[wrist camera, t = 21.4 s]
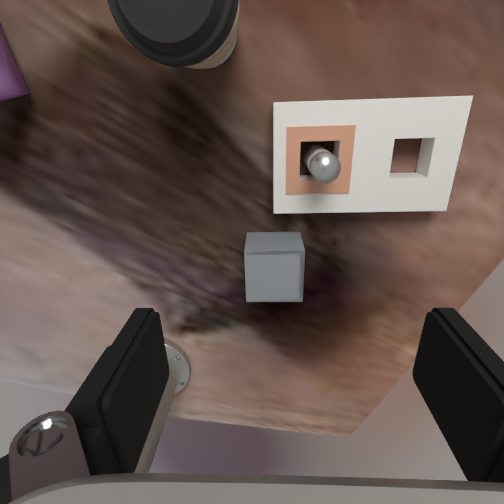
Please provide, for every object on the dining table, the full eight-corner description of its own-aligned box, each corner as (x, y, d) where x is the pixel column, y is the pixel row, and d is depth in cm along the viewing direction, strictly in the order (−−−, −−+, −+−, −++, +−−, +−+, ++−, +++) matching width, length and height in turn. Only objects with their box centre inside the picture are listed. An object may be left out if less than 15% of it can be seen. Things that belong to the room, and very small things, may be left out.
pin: (325, 168, 38) (339, 183, 31) (302, 169, 38) (311, 183, 31) (327, 144, 37) (342, 153, 30) (303, 145, 37) (312, 154, 30)
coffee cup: (265, 15, 32) (265, -54, 18) (220, 97, 35) (191, 91, 22) (188, -48, 30) (123, -175, 17) (147, 45, 34) (66, 3, 20)
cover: (298, 278, 45) (302, 301, 39) (248, 278, 45) (246, 301, 39) (299, 231, 42) (304, 250, 36) (247, 232, 42) (244, 250, 37)
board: (433, 203, 39) (447, 211, 36) (273, 206, 40) (273, 214, 37) (456, 96, 34) (474, 95, 31) (273, 102, 35) (273, 102, 32)
